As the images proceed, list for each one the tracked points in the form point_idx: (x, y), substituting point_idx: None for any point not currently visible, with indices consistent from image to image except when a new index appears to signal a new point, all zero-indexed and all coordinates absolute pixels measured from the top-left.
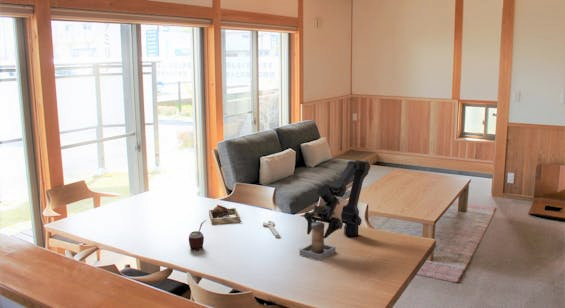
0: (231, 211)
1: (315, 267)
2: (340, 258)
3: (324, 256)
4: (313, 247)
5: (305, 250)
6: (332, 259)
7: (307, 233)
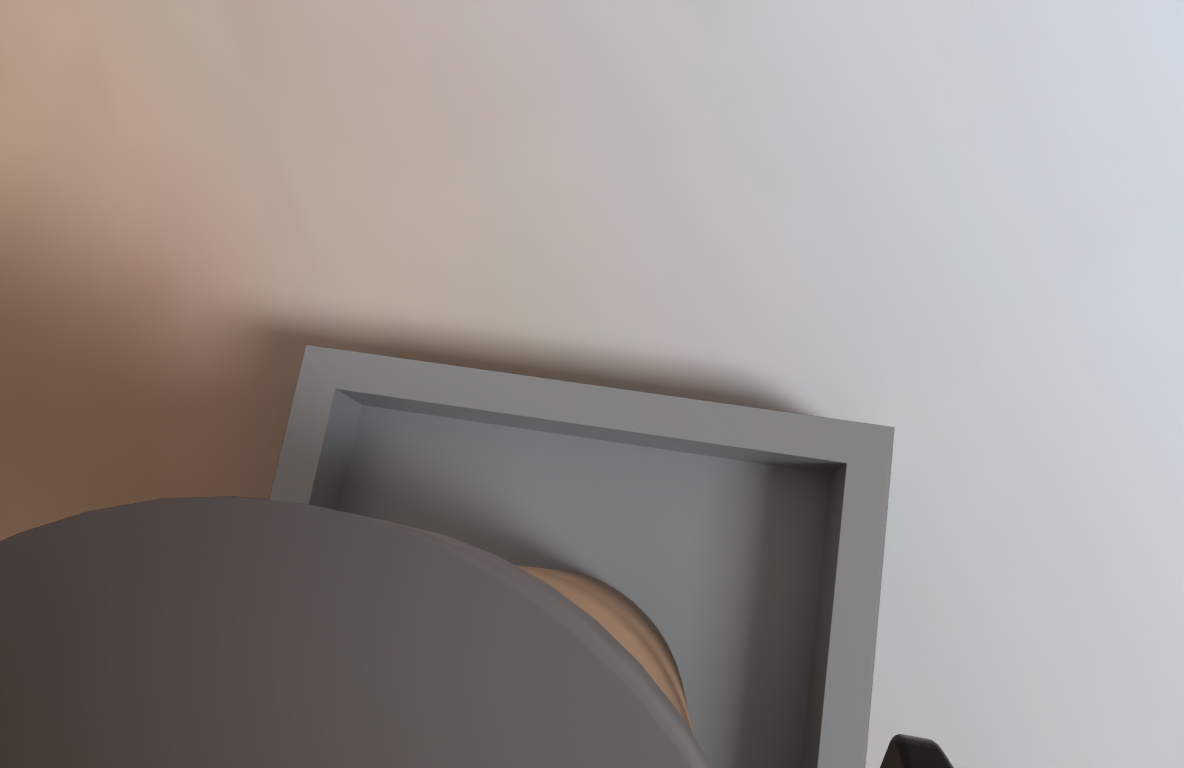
0: None
1: (323, 54)
2: None
3: None
4: (583, 579)
5: (819, 612)
6: None
7: (913, 739)
